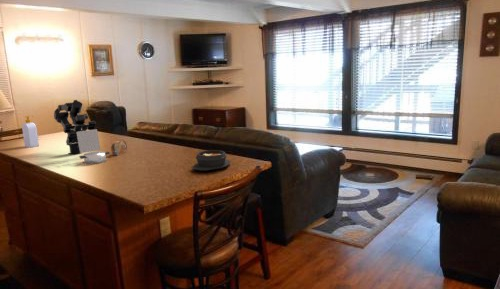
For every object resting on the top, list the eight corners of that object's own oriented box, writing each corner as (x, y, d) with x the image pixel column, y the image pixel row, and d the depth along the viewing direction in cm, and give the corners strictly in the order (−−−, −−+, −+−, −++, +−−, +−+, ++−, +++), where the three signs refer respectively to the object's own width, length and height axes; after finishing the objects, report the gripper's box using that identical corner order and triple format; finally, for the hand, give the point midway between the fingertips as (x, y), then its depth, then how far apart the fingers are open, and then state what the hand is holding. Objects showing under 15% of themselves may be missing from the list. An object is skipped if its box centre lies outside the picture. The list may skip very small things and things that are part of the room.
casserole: (210, 175, 190) (209, 159, 189) (183, 171, 200) (182, 155, 199) (238, 164, 211) (238, 150, 209) (212, 161, 221) (212, 147, 219)
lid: (80, 153, 226) (79, 153, 228) (100, 149, 234) (99, 150, 236) (76, 131, 225) (75, 132, 227) (97, 129, 233) (95, 129, 235)
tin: (115, 156, 240) (114, 143, 238) (111, 156, 241) (109, 143, 239) (127, 151, 254) (126, 139, 253) (123, 151, 255) (122, 139, 253)
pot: (77, 162, 226) (76, 154, 225) (105, 157, 237) (104, 150, 236) (84, 166, 217) (83, 157, 216) (113, 160, 228) (112, 152, 227)
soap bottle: (40, 145, 283) (36, 115, 278) (30, 147, 277) (26, 116, 273) (34, 144, 288) (30, 115, 283) (24, 146, 282) (20, 116, 278)
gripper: (62, 111, 229) (70, 130, 223) (93, 108, 241) (102, 127, 236) (60, 123, 236) (68, 142, 230) (90, 119, 249) (98, 138, 243)
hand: (84, 137), depth 235 cm, fingers closed
